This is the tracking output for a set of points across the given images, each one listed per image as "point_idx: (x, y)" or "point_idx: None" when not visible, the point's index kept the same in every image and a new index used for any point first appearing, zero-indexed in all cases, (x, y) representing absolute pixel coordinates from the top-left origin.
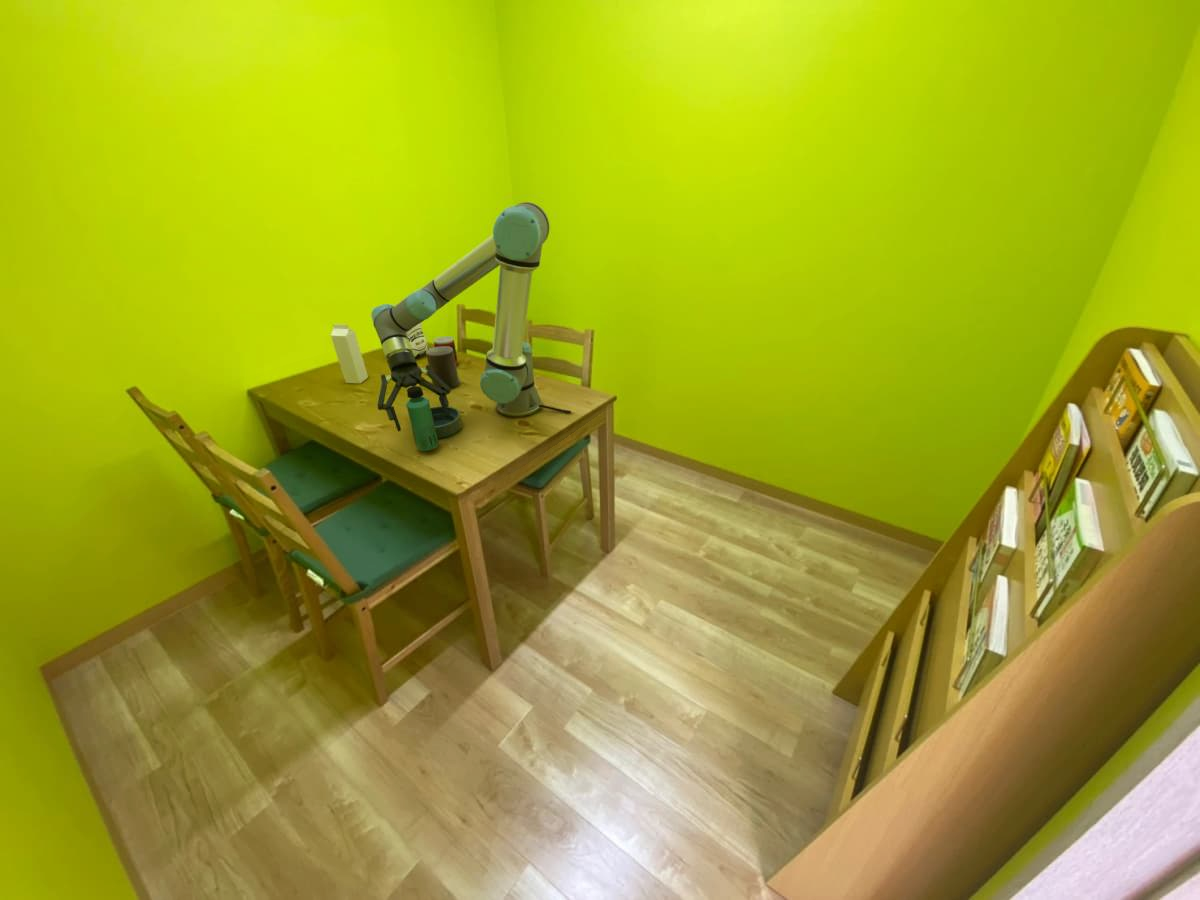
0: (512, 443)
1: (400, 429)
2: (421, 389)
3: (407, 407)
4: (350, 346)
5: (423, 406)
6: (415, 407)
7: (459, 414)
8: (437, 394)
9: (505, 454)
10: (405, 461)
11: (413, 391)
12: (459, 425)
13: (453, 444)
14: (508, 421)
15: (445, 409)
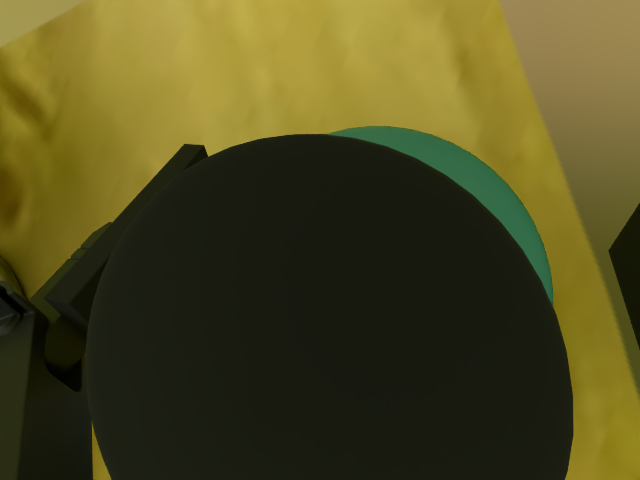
0: (102, 72)
1: (632, 219)
2: (128, 243)
3: (547, 279)
4: None
5: (340, 132)
6: (456, 147)
7: None
8: (85, 399)
9: (158, 4)
10: (552, 220)
11: (390, 177)
12: None
13: None
14: (37, 252)
15: (168, 180)
